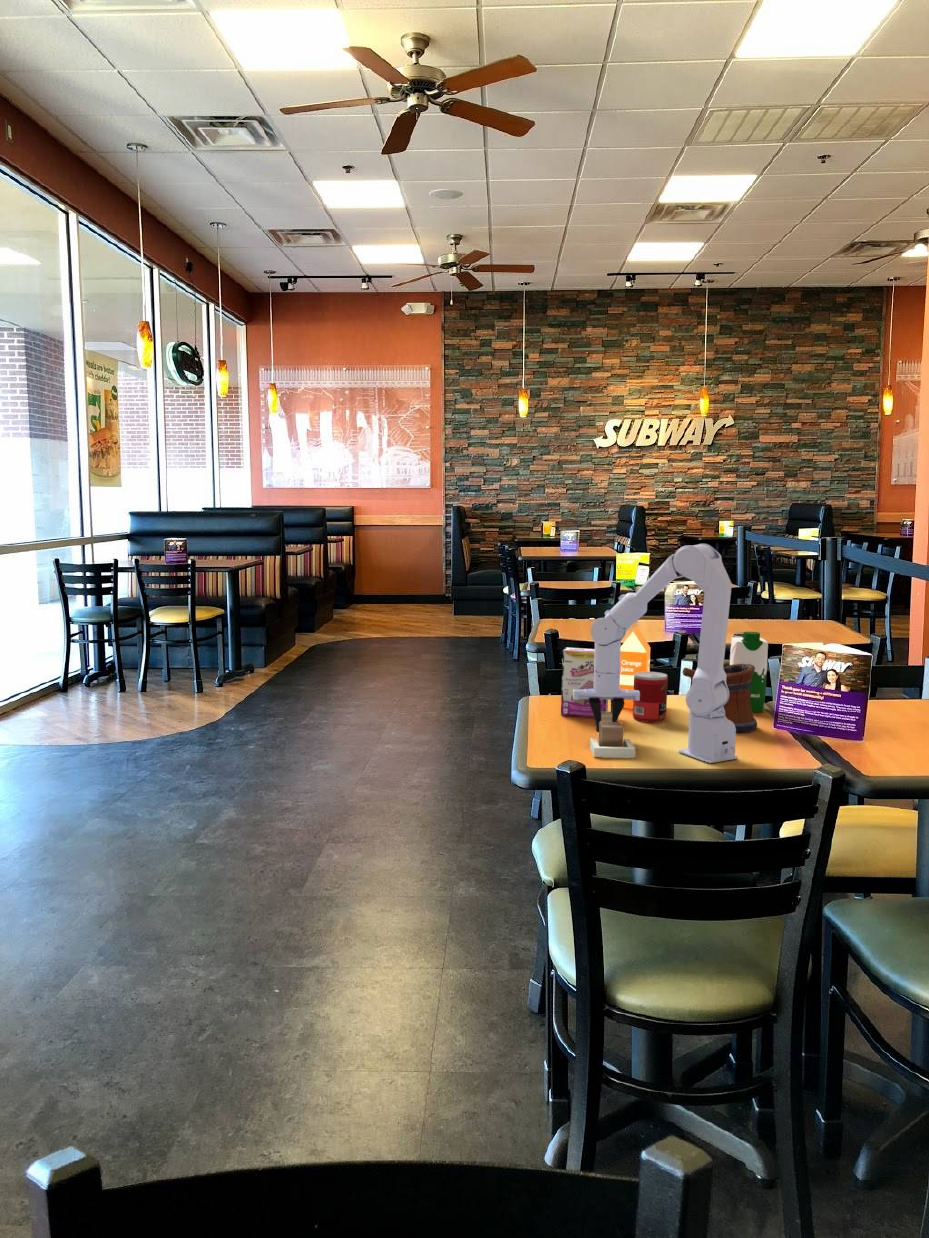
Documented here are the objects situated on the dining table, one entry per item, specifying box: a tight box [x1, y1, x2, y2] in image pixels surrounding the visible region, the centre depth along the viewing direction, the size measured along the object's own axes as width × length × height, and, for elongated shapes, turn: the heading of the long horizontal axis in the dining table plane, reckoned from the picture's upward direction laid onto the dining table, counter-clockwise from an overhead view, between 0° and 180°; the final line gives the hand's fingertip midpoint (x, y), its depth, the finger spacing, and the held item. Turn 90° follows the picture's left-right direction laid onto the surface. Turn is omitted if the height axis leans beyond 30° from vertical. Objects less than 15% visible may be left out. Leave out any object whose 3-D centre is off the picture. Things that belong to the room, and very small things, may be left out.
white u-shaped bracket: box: [589, 737, 636, 759], centre depth 196 cm, size 8×8×2 cm
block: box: [598, 711, 624, 747], centre depth 201 cm, size 12×4×6 cm, turn 179°
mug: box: [682, 664, 758, 733], centre depth 217 cm, size 18×12×15 cm, turn 96°
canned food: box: [632, 671, 669, 723], centre depth 225 cm, size 8×8×11 cm
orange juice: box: [620, 626, 652, 710], centre depth 239 cm, size 8×9×20 cm
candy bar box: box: [560, 647, 609, 719], centre depth 227 cm, size 11×5×16 cm, turn 76°
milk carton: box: [729, 631, 769, 714], centre depth 235 cm, size 9×9×20 cm
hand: (605, 731), depth 207 cm, fingers closed on block, 2 cm apart
